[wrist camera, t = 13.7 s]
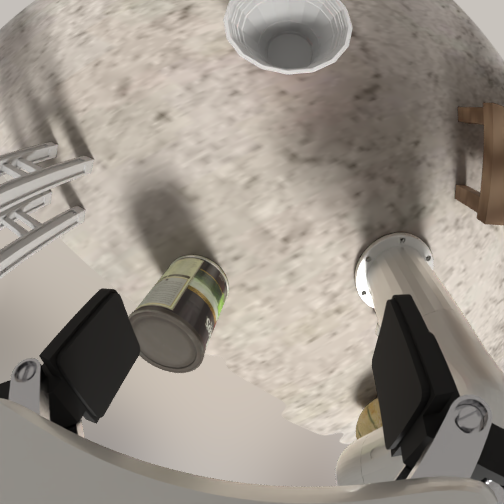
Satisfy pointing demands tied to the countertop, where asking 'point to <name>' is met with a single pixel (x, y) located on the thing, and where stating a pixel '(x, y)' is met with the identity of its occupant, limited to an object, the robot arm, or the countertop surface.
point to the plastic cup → (288, 33)
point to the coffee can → (180, 314)
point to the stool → (35, 200)
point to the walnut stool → (487, 164)
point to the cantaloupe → (369, 419)
